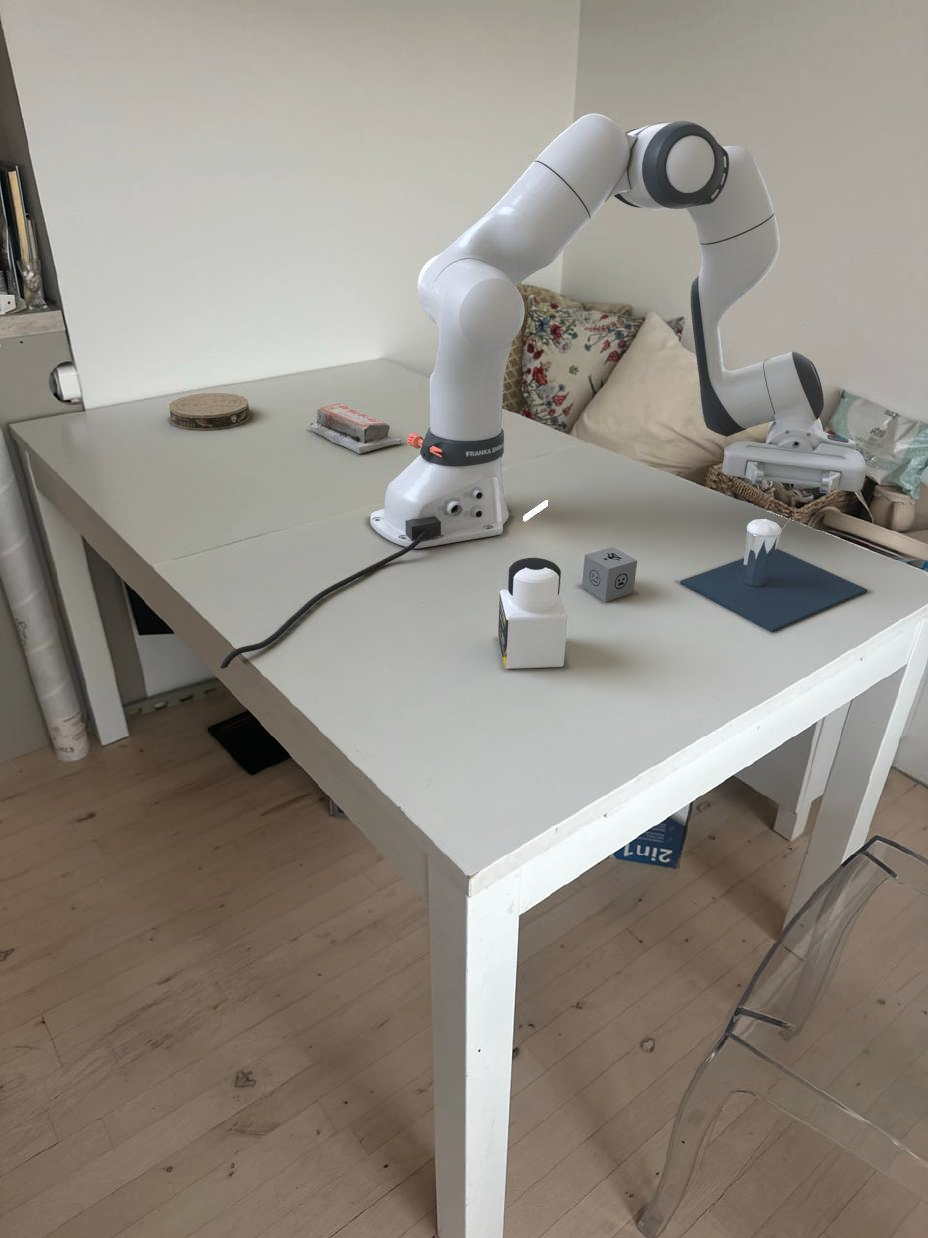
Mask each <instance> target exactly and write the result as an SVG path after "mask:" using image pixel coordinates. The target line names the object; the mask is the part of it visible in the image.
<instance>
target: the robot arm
mask: <svg viewBox="0 0 928 1238" xmlns="http://www.w3.org/2000/svg"><path fill="white" fill-rule="evenodd" d="M613 197H614V198H616V199H617V200H619V201H620V202H622V203H623V204H625V205H627V206H629V207H633V208H640V209H641V208H643V209H647V210H650V211H666V210H683V209H685V210H686V211H687V213H688V214H689V216H690V218H691V219H692V222H693V224H694V228H695V232H696V235H697V240H698V243H699V246H700V251H701V266H700V270H699V274H698V275H697V276H696V277H695V278H694V280H693V281H692V283H691V287H690V312H691V322H692V323H691V324H692V333H693V340H694V341H693V342H694V349H695V356H696V357H695V358H696V365H697V372H698V373H697V374H698V379H699V411H700V415H701V416H700V417H701V419H702V422H703V423H704V425H705V427H706V429H708V430H709V431H711V432H713V433H716V434H718V435H720V436H723V437H727V438H728V437H732V436H733V435H735V434H738V433H741V432H743V431H746V430H748V429H749V428H753V427H756V426H760V425H764V424H767V423H769V425H768V428H767V430H766V431H767V432H766V436H765V443H764V442H755V441H748V440H747V441H746V440H737V441H733V442H731V443H730V444H729V445H726V446H725V447H724V449H723V461H722V467H721V468H722V469H721V472H722V473H723V474H724V475H726V476H729V477H734V478H735V477H736V478H744V479H748V480H750V481H751V485H756V486H757V485H758V486H762V485H763V481H768V482H775V483H783V484H791V485H799V486H805V487H814V488H818V489H819V490H818V491H819V493H820V494H827V495H831V492H832V491H834V490H837V491H844V492H845V491H846V492H851V493H852V492H854V493H856V492H859V491H861V490H862V489H863V486H864V483H865V478H866V474H867V464H866V461H865V458H864V456H863V455H862V453H861V452H859V451H858V450H857V449H856V448H857V442H856V441H855V440H853V439H850V438H846V437H842V436H838V435H834V434H830V433H828V432H825V431H824V429H823V425H822V421H821V419H820V416H821V415H822V413H823V411H824V408H825V399H824V392H823V386H822V382H821V378H820V376H819V373H818V370H817V368H816V366H815V364H814V362H813V361H812V360H811V359H809V358H808V357H806V356H805V355H803V354H801V353H799V352H797V351H791V352H787V353H783V354H780V355H777V356H773V357H771V358H768V359H765V360H763V361H759V362H757V363H753V364H751V365H747V366H744V367H742V368H738V369H734V370H729V369H726V368H725V366H724V357H723V347H722V339H721V329H720V324H721V321H722V319H723V317H724V315H725V314H726V313H727V311H729V310H730V308H731V307H732V306H734V305H735V304H736V303H737V302H739V301H740V300H741V299H742V298H743V297H745V296H746V295H747V294H748V293H750V292H751V291H752V290H753V289H755V288H756V287H757V286H758V285H759V284H761V282H762V281H763V280H764V279H765V278H766V277H767V275H768V274H770V272H771V270H772V269H773V267H774V265H775V264H776V261H777V259H778V258H779V253H780V249H781V241H780V240H781V239H780V233H779V226H778V222H777V221H778V220H777V217H776V213H775V209H774V206H773V202H772V198H771V196H770V193H769V190H768V187H767V185H766V182H765V180H764V177H763V175H762V173H761V170H760V168H759V166H758V163H757V162H756V160H755V158H754V156H753V154H752V153H751V151H749V150H748V149H747V148H745V147H743V146H740V145H725V146H722V145H721V144H720V143H718V141H717V140H716V137H714V136H713V134H711V132H710V131H709V130H707V129H706V128H705V127H703V126H701V125H700V124H697V123H695V122H693V121H692V122H691V121H686V120H678V121H673V122H667V121H666V122H665V121H663V122H662V121H661V122H656V123H652V124H648V125H646V126H642V127H637V128H634V129H631V130H628V131H626V132H625V131H623V129H622V128H621V127H620V126H619V124H618V123H617V122H616V121H614V119H611V118H610V117H608V116H606V115H604V114H602V113H595V112H593V113H587V114H585V115H583V116H581V117H580V118H578V119H577V120H576V121H574V122H573V123H572V124H571V125H569V126H568V127H567V128H566V129H565V130H564V131H562V132H561V133H560V134H559V135H558V136H557V137H556V138H555V139H553V140H552V141H551V142H550V143H549V145H548V146H546V148H544V149H543V151H541V153H539V155H538V156H537V157H536V158H535V159H534V160H533V162H532V163H531V164H530V165H529V166H528V168H527V169H526V170H525V171H524V172H523V173H522V174H521V175H520V177H519V178H518V179H517V180H516V182H515V183H514V184H513V185H512V186H511V188H509V189H508V191H506V193H505V194H504V195H503V196H502V197H501V199H500V200H499V201H498V202H496V204H495V205H494V206H493V207H492V208H491V209H490V210H489V211H488V212H487V213H486V214H484V215H483V216H482V217H481V218H480V219H479V220H478V221H476V222H475V223H474V224H473V225H471V226H470V227H469V228H468V229H467V230H465V231H464V232H463V233H462V234H460V236H458V238H456V239H455V240H454V241H453V242H452V243H451V244H450V245H448V246H447V248H446V249H444V250H443V251H442V252H440V253H439V254H437V255H435V256H433V257H432V258H430V259H429V260H428V261H427V262H426V263H425V264H424V265H423V267H422V268H421V270H420V272H419V275H418V278H417V285H416V287H417V295H418V299H419V302H420V305H421V307H422V310H423V312H424V314H425V315H426V317H427V318H428V319H429V321H430V320H431V321H432V323H434V324H435V325H437V327H438V332H439V333H438V334H439V340H438V341H439V342H438V349H437V354H436V360H435V365H434V369H433V372H432V373H431V375H430V377H429V427H428V428H427V430H426V434H425V435H424V437H423V436H421V435H419V434H417V433H416V432H411V433H409V435H408V436H407V439H406V441H407V442H406V443H407V444H408V445H409V446H411V447H413V448H414V449H420V450H419V455H418V456H417V457H416V458H415V459H414V460H413V461H411V463H410V464H408V465H407V467H405V469H404V470H402V471H401V472H400V473H399V474H398V475H397V476H395V478H394V479H393V480H392V481H390V482H389V484H388V485H387V488H386V491H385V495H384V502H383V508H381V509H378V510H376V511H373V512H371V514H370V517H369V518H370V520H369V522H370V526H371V527H372V528H373V530H374V531H375V532H376V533H377V534H379V535H380V536H382V537H383V538H385V539H386V540H388V541H389V542H391V543H394V544H396V545H398V546H401V547H404V548H403V549H401V550H399V551H397V552H395V553H393V554H391V555H389V556H387V557H385V558H383V559H381V560H379V561H378V562H376V563H373V564H371V565H369V566H368V567H366V568H363V569H361V570H359V571H358V572H356V573H354V574H352V575H350V576H348V577H346V578H344V579H341V580H339V581H337V582H336V583H334V584H332V585H330V586H328V587H327V588H325V589H323V590H322V591H320V592H319V593H317V594H315V596H313V597H311V599H310V600H308V601H307V602H306V603H305V604H304V605H303V606H302V607H300V608H299V609H298V610H297V611H296V612H295V613H294V614H293V615H291V617H289V618H288V619H287V621H285V622H284V623H283V624H282V625H281V626H280V627H279V628H278V629H277V630H275V632H274V633H273V634H271V635H270V636H269V637H267V638H265V639H264V640H262V641H260V642H257V643H253V644H249V645H244V646H241V647H238V648H236V649H234V650H232V651H231V652H230V653H228V655H226V657H225V658H224V659H223V660H222V663H221V664H220V669H222V670H223V669H227V668H228V666H229V665H230V664H231V662H232V661H233V660H234V659H235V658H236V657H237V656H240V655H242V654H245V653H249V652H254V651H258V650H262V649H263V648H265V647H268V646H269V645H271V644H272V643H274V642H275V641H276V640H278V639H279V638H280V637H281V636H282V635H283V634H284V633H285V632H286V631H287V630H288V629H289V628H290V627H291V626H292V625H293V624H294V623H295V622H296V621H297V620H299V619H300V618H301V617H302V616H303V615H304V614H305V613H306V612H308V611H309V609H310V608H312V606H314V605H315V604H316V603H317V602H319V601H320V600H322V599H323V598H324V597H326V596H327V595H330V594H331V593H333V592H334V591H336V590H338V589H340V588H342V587H344V586H346V585H348V584H350V583H352V582H354V581H356V580H357V579H359V578H361V577H363V576H365V575H367V574H369V573H371V572H373V571H375V570H377V569H379V568H381V567H383V566H385V565H387V564H388V563H390V562H392V561H394V560H396V559H398V558H400V557H403V556H405V555H406V554H408V553H409V552H411V551H412V550H413V549H415V550H416V549H423V548H429V547H435V546H440V545H446V544H452V543H458V542H466V541H470V540H476V539H481V538H489V537H494V536H498V535H499V536H500V535H502V534H503V533H504V524H505V523H506V522H507V521H508V520H509V517H510V513H509V509H508V506H507V501H506V497H505V491H504V485H503V472H502V471H503V469H502V459H503V455H504V452H505V430H504V429H503V428H502V427H503V425H502V423H503V401H504V400H503V399H504V384H505V383H504V382H505V375H506V370H507V366H508V362H509V358H510V354H511V350H512V346H513V341H514V339H515V338H516V337H517V336H518V335H519V333H520V331H521V329H522V326H523V323H524V321H525V314H526V313H525V303H524V299H523V296H522V294H521V293H520V291H519V289H518V287H517V286H518V285H519V284H521V283H522V282H523V281H524V280H526V279H527V278H529V277H530V276H532V275H533V274H534V273H536V272H538V271H540V270H542V269H544V268H546V267H548V266H549V265H551V264H552V263H553V262H554V261H555V260H556V259H557V258H558V257H559V255H561V254H562V252H563V251H564V250H565V249H566V248H567V247H568V245H569V244H570V243H571V242H572V241H573V240H574V239H575V237H576V236H577V235H578V234H579V233H580V232H581V231H582V230H583V229H584V227H585V226H586V225H587V224H588V223H589V222H590V221H591V220H592V218H593V217H594V216H595V215H596V214H597V212H598V211H599V210H600V208H601V207H602V206H603V205H604V204H605V203H606V202H608V201H609V200H610V199H611V198H613ZM548 502H549V500H545V501H542V503H540V504H539V505H537V506H535V508H533V509H531V510H530V511H529V512H527V513H526V514H524V515H523V521H524V522H526V521H528V520H529V519H530V518H532V517H533V516H534V515H536V514H537V513H540V512H541V511H543V509H545V508H546V507H548V505H549V504H548Z"/></svg>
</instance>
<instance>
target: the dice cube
mask: <svg viewBox="0 0 928 1238" xmlns="http://www.w3.org/2000/svg"><path fill="white" fill-rule="evenodd" d="M637 567H638V559H636V558H634V557H632V556H630V555H628V554H627V553H625V552H624V551H622V550H620V549H619V548H616V547H614V546H609V547H607V548H603V549H600V550H597V551H593V552H589V553H585V554H584V560H583V569H582V571H583V572H582V579H581V580H582V582H581V588H583V589H584V590H585V591H587V592H589V593H590V594H591V595H593V596H594V597H596V598H598V599H600V600H601V601H602V602H604V603H608V602H611V601H614V600H618V599H620V598H623V597H626V596H629V595H633V594H634V592H635V591H634V590H635V585H636V583H635V582H636V575H637Z"/></svg>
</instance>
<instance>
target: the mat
mask: <svg viewBox="0 0 928 1238" xmlns="http://www.w3.org/2000/svg"><path fill="white" fill-rule="evenodd" d="M743 565H744V557H743V558H740V559H738V560H735V561H732V562H729V563H726V564H724V565H721V566H718V567H715V568H713V569H710V570H707V571H704V572H701V573H699V574H696V575H693V576H690V577H687V578H685V579H682V580H680V582H679V584H680V585H683V586H684V587H686V588H688V589H690V590H693V591H694V592H696V593H698V594H699V595H701V596H703V597H705V598H707V599H709V600H711V601H713V602H715V603H716V604H718V605H720V606H722V607H724V608H726V609H728V610H730V611H731V612H733V613H735V614H737V615H739V616H741V617H743V618H745V619H746V620H748V621H750V622H752V623H754V624H755V625H757V626H760V627H762V628H764V629H765V630H767V631H769V632H771V633H773V632H776V631H778V630H780V629H783V628H784V627H787V626H790V625H792V624H794V623H796V622H799V621H801V620H803V619H807V618H809V617H810V616H813V615H816V614H818V613H820V612H822V611H825V610H827V609H829V608H832V607H834V606H837V605H839V604H841V603H844V602H846V601H848V600H850V599H853V598H855V597H857V596H860V595H863V594H864V593H866V592H868V589H867V588H865V587H864V586H861V585H859V584H857V583H855V582H852V581H850V580H848V579H845V578H843V577H841V576H838V575H836V574H835V573H832V572H830V571H827V570H826V569H823V568H821V567H819V566H817V565H814V564H812V563H810V562H807V561H805V560H803V559H801V558H798V557H797V556H794V555H793V554H789V553H788V552H785V551H783V550H781V549H778V548H776V551H775V554H774V557H773V561H772V564H771V568H770V571H769V575H768V578H767V582H766V584H765V585H764V586H760V587H756V586H750V585H747V584H745V583H744V582H743V581H742V575H743Z"/></svg>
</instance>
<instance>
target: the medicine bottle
mask: <svg viewBox="0 0 928 1238" xmlns="http://www.w3.org/2000/svg"><path fill="white" fill-rule="evenodd" d="M561 575H562V570H561V568H560V566H558V565H557V564H556V563H555V562H553V561H551V560H550V559H549V560H548V559H546V558H540V557H525V558H520V559H518V560H516V561H514V562H513V563H512V564H511V565H510V566H509V567H508V581H507V582H508V583H507V589H505V588H503V589H501V590H500V591H499V601H498V603H499V604H498V625H497V626H498V630H497V631H498V632H497V640H498V644H499V648H500V652H501V658H502V661H503V666H504V669H506V670H510V669H512V670H513V669H541V668H542V669H543V668H562V667H564V665H565V655H566V654H565V652H566V643H567V631H568V630H567V629H568V617H569V616H568V614H567V611H566V609H565V606H564V603H563V600H562V597H561V595H560V591H561Z"/></svg>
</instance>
